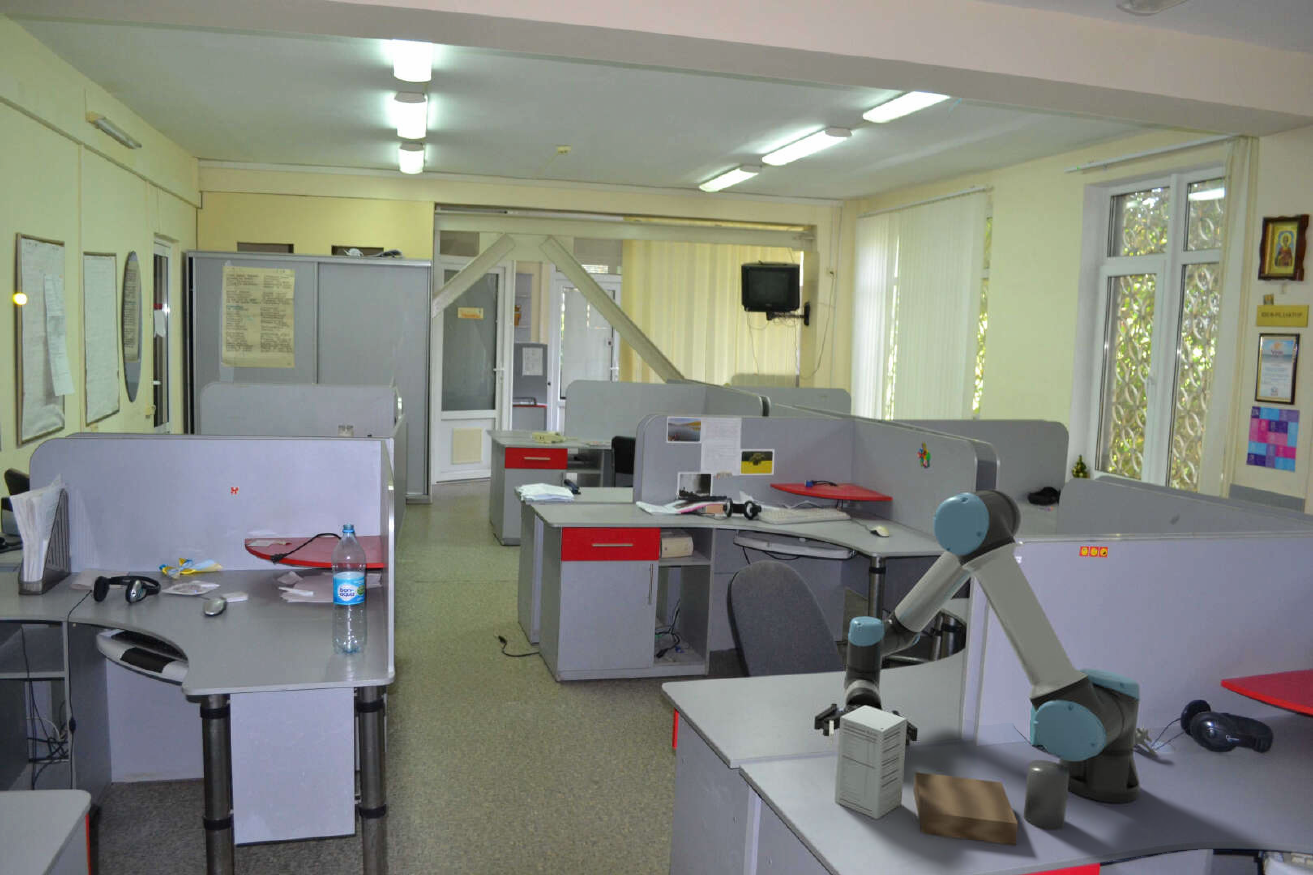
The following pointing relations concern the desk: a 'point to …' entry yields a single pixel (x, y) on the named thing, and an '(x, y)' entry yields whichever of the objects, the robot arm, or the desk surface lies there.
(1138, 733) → the pale grey branched piece
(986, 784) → the podium
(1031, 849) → the desk surface
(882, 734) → the supplement box
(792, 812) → the desk surface
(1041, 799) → the dark grey cylinder
